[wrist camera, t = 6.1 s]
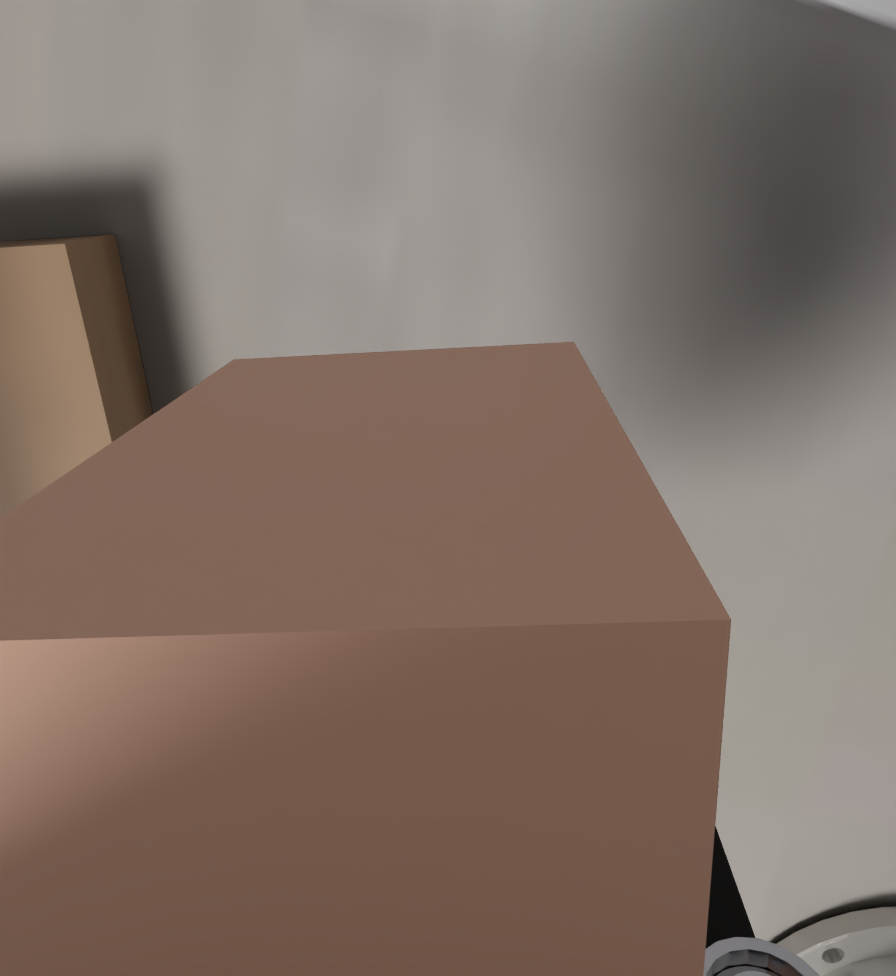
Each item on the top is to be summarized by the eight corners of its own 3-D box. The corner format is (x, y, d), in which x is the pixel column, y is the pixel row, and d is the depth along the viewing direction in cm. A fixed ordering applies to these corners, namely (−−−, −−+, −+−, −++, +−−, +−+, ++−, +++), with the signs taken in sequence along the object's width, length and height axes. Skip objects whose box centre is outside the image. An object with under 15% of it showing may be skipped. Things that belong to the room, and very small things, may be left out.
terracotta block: (573, 342, 10) (731, 619, 4) (576, 993, 14) (649, 1660, 8) (233, 359, 10) (-189, 648, 4) (334, 993, 15) (213, 1636, 8)
